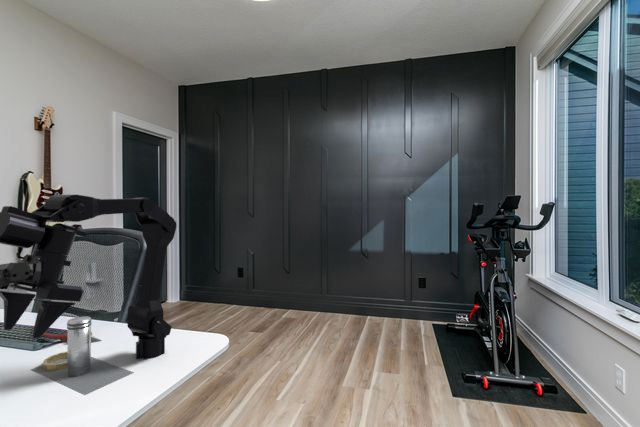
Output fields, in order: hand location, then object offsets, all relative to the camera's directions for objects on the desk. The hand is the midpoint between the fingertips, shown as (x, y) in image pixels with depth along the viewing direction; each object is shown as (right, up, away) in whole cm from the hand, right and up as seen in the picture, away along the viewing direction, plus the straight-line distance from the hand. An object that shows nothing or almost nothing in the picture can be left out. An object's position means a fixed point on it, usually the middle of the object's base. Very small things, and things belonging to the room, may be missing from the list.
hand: (21, 333), depth 62 cm
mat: (-2, -17, +18) cm, 25 cm away
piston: (-2, -16, +18) cm, 24 cm away
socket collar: (-10, -17, +22) cm, 29 cm away
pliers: (-21, -17, +40) cm, 48 cm away
